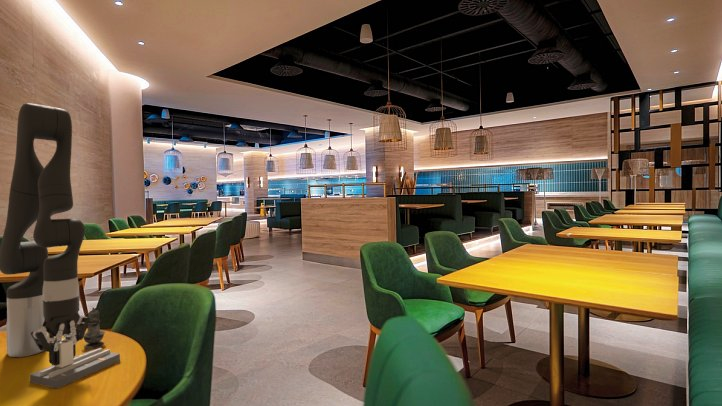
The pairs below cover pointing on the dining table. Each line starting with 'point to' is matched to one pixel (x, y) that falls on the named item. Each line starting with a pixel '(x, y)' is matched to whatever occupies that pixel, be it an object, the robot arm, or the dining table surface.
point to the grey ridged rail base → (75, 368)
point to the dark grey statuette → (93, 331)
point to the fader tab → (65, 353)
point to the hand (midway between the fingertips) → (62, 361)
